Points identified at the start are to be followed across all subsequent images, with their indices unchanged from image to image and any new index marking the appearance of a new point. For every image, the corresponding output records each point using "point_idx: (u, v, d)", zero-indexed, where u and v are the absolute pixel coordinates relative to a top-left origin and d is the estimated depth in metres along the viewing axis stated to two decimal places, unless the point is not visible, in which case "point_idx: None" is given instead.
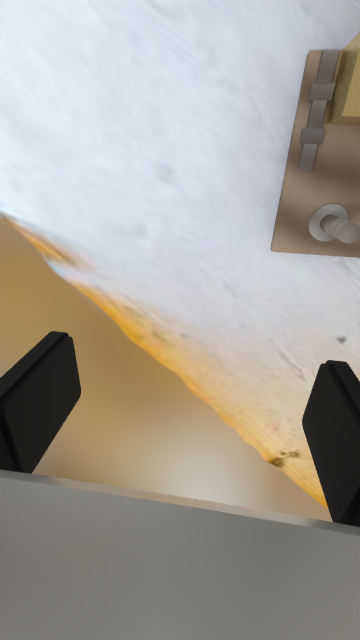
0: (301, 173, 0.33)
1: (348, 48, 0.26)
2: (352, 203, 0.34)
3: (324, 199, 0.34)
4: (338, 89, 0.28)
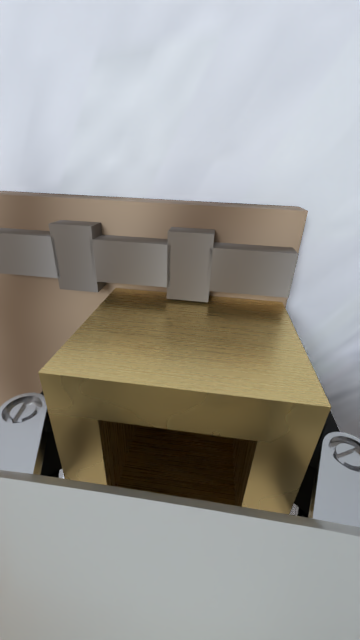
0: None
1: (279, 328, 0.08)
2: None
3: None
4: (177, 317, 0.08)
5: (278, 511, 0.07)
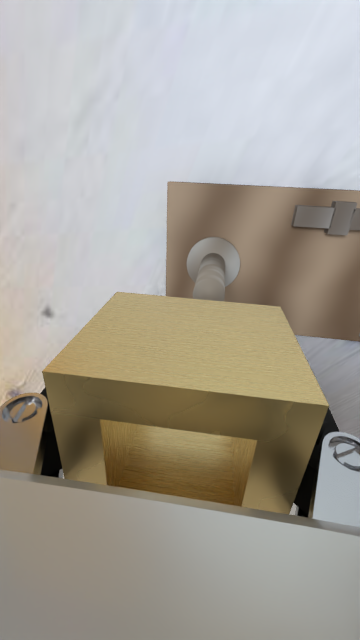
0: (288, 212, 0.21)
1: (278, 331, 0.08)
2: (237, 290, 0.25)
3: (246, 253, 0.23)
4: (178, 320, 0.09)
5: (277, 512, 0.07)
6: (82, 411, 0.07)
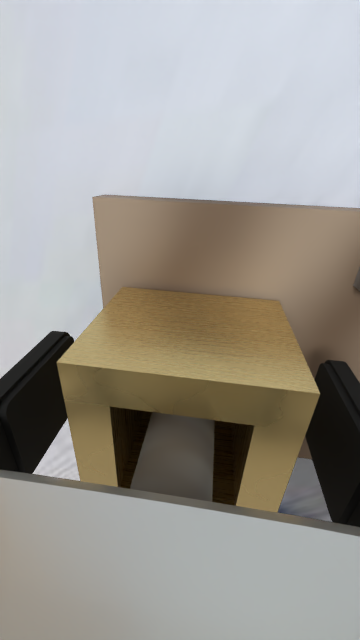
0: (349, 262, 0.10)
1: (276, 324, 0.09)
2: None
3: None
4: (181, 314, 0.09)
5: (273, 492, 0.08)
6: (93, 399, 0.07)
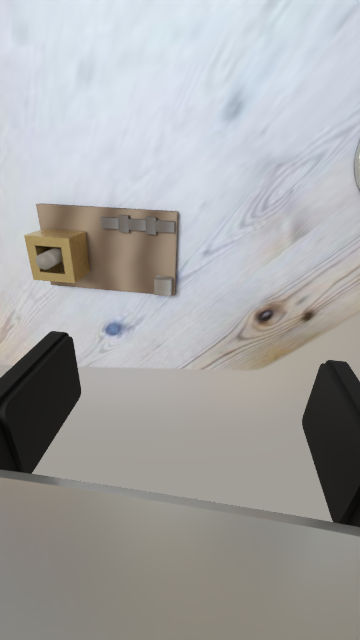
0: (100, 220, 0.39)
1: (76, 233, 0.38)
2: None
3: None
4: (55, 232, 0.39)
5: (70, 266, 0.37)
6: (31, 243, 0.37)
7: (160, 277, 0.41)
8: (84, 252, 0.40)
